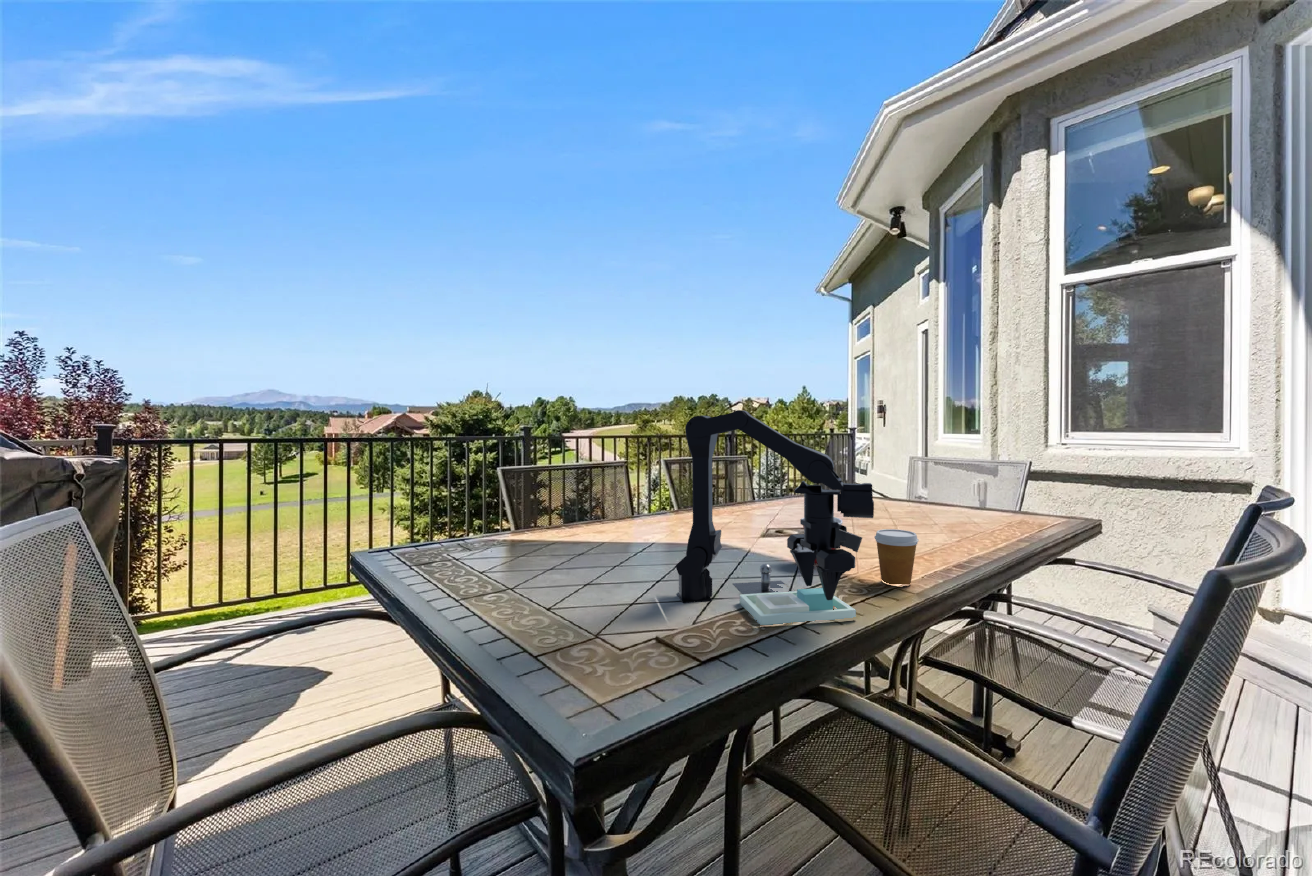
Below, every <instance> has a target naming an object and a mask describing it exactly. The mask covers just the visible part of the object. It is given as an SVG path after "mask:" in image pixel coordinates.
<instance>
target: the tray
mask: <svg viewBox="0 0 1312 876" xmlns="http://www.w3.org/2000/svg"><path fill="white" fill-rule="evenodd" d="M790 593H793V594H794V595H795V596H797V590H794V591H789V592H773V593H757V594H742V593H741V594H739V605H740V606H742V608H743V609H746V610H747V611H748V612H749V613H750V614H751V615H752V616H753V617H754V618H753V617H752V616H751V615H750V614H749V613H748V612H747V611H746V610H745V611H746V612H747V613H748V614H749V615H750V616H751V617H752V618H753V619H754V621H756V620H757V621H756V622H757V624H758V625H759V624H760V625H773V624H783V623H791V622H792V623H793V622H805V621H815V620H835V619H844V618H853V617H856V616H857V610H856V609H855V608H854V607H852V606H850V605H849V604H848V603H846V602H845V601H843V600H841V598H839V597H837V595H834V596H833V606H835V607H836V608H837V609H834V610H819V611H805V612H790V613H775V614H764V613H763V612H762V611H761V610H760V609H759V608H758V607H757V606H756V596H758V595H774V594H790ZM856 618H857V617H856Z"/></svg>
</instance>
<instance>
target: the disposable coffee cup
mask: <svg viewBox="0 0 1312 876" xmlns="http://www.w3.org/2000/svg"><path fill="white" fill-rule="evenodd" d="M874 539H875V542H876V546H877V556H878V564H879V572H880V579H882V580H883V581H884V582H886V583H889V584H910V583H911V584H912V579H913V571H914V563H915V557H916V550H917V549H916V548H917V545H918V543H919V542H920V541H919V540H920V539H919V538H918V535H917V533H915V532H913V531H911V530H910V531H909V530H906V529H905V530H904V529H896V528H895V529H894V528H893V529H892V528H891V529H889V528H886V529H878V530H877V531H876V534H875V535H874Z"/></svg>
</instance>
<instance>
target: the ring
mask: <svg viewBox="0 0 1312 876" xmlns="http://www.w3.org/2000/svg"><path fill="white" fill-rule="evenodd" d="M796 591H797V596H795V595H794V594H793V593H790V594H774V595H758V596H756V606H757V607H758V608H759V609H760V610H761V611H762V612H763V613H764V614H775V613H790V612H805V611H819V610H833V599H832V600H827V599H826V597H825V594H824V591H823V588H822V587H816V588H815V587H814V588H801V589H797V590H796Z"/></svg>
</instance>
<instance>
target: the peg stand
mask: <svg viewBox="0 0 1312 876" xmlns="http://www.w3.org/2000/svg"><path fill="white" fill-rule="evenodd" d="M772 570H773V569H772V566H771V565H770V564H768V563H762V564H761V566H760V568H759V572H760V575H761V576H760V581H752V582H751V581H750V582H737V583H736V582H735V583H734V582H733V583H732V585H733V586H734V587H735V588H736V589H737V590H738V591H739V593H741V594H757V593H773V592H775V591H773V590H772V589H770V588H783V587H781V586H779V585H777V584H786V583H785V582H784V581H782V580H771V573H772ZM776 592H778V591H776Z"/></svg>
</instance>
